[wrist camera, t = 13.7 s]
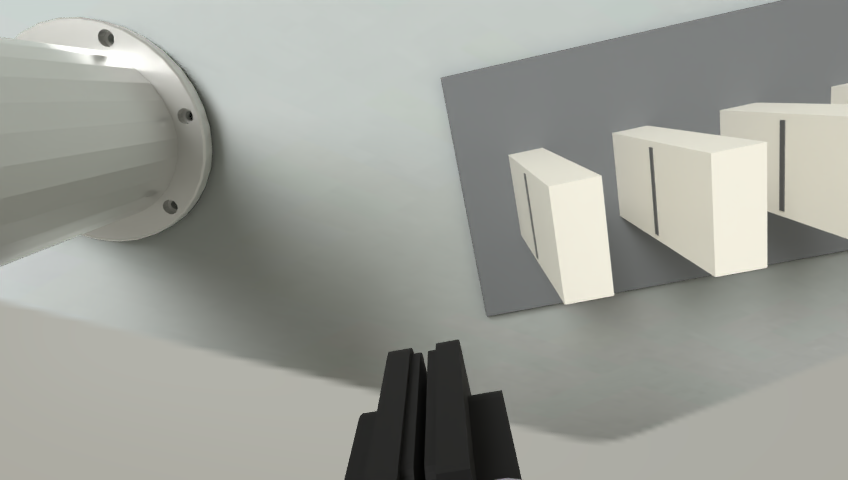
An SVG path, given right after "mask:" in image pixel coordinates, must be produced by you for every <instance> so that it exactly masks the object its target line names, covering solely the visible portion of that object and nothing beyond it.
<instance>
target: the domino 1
mask: <svg viewBox="0 0 848 480" xmlns="http://www.w3.org/2000/svg"><path fill="white" fill-rule="evenodd" d="M508 156H509V162H510V168H511V175H512V181H513V187H514V193H515V200H516V206H517V212H518V218H519V224H520V231H521V236H522V237H523V239H524V241H525V242H526V244H527V245H528V247H529V248H530V250H531V252H532V253H533V255H534V256H535V258H536V260H537V261H538V263H539V264H540V266H541V268H542V269H543V271H544V272H545V274H546V276H547V277H548V279H549V280H550V282H551V283H552V285H553V287H554V288H555V290H556V291H557V293H558V295H559V296H560V298H561V299H562V301H563V303H564V304H565V305H566V304H572V303H577V302H583V301H588V300H594V299H599V298H604V297H610V296H614V289H613V279H612V270H611V260H610V251H609V241H608V232H607V222H606V213H605V203H604V194H603V184H602V176H601V175H599V174H597V173H595V172H593V171H591V170H589V169H586V168H584V167H582V166H580V165H578V164H576V163H574V162H572V161H569V160H567V159H565V158H563V157H561V156H559V155H557V154H555V153H553V152H550V151H548V150H546V149H544V148H539V149H534V150H529V151H525V152H520V153H515V154H510V155H508Z"/></svg>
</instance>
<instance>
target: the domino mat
mask: <svg viewBox="0 0 848 480" xmlns="http://www.w3.org/2000/svg"><path fill="white" fill-rule="evenodd" d="M441 82H442V87H443V93H444V98H445V103H446V108H447V113H448V118H449V124H450V129H451V134H452V139H453V144H454V149H455V155H456V160H457V165H458V170H459V175H460V181H461V186H462V191H463V196H464V201H465V206H466V212H467V217H468V222H469V227H470V232H471V237H472V243H473V248H474V253H475V258H476V263H477V269H478V274H479V279H480V284H481V289H482V294H483V300H484V305H485V310H486V315H487V316H493V315H498V314H504V313H509V312H515V311H520V310H526V309H531V308H536V307H542V306H547V305H553V304H558V303H563V301H562V299H561V298H560V296H559V295H558V293H557V291H556V290H555V288H554V287H553V285H552V283H551V282H550V280H549V279H548V277H547V276H546V274H545V272H544V271H543V269H542V268H541V266H540V264H539V263H538V261H537V260H536V258H535V256H534V255H533V253H532V252H531V250H530V248H529V247H528V245H527V244H526V242H525V241H524V239H523V237H522V236H521V231H520V224H519V218H518V212H517V206H516V200H515V193H514V187H513V181H512V175H511V168H510V162H509V156H508V155H510V154H515V153H520V152H525V151H529V150H534V149H539V148H544V149H546V150H548V151H550V152H553V153H555V154H557V155H559V156H561V157H563V158H565V159H567V160H569V161H572V162H574V163H576V164H578V165H580V166H582V167H584V168H586V169H589V170H591V171H593V172H595V173H597V174H599V175H601V176H602V184H603V194H604V203H605V213H606V222H607V232H608V241H609V251H610V260H611V270H612V279H613V289H614V293H618V292H624V291H629V290H634V289H640V288H645V287H651V286H656V285H662V284H667V283H673V282H678V281H683V280H689V279H694V278H700V277H705V276H711V274H710V273H708V272H707V271H705V270H704V269H702V268H700V267H699V266H697V265H696V264H694V263H693V262H691V261H690V260H688V259H686V258H685V257H683V256H682V255H680V254H679V253H677V252H675V251H674V250H672V249H671V248H669V247H668V246H666V245H665V244H663V243H661V242H660V241H658V240H657V239H655V238H654V237H652V236H651V235H649V234H647V233H646V232H644V231H643V230H641V229H640V228H638V227H637V226H635V225H633V224H632V223H630V222H629V221H627V220H626V219H624V218H623V217H621V216H620V210H619V200H618V189H617V179H616V168H615V158H614V148H613V137H612V133H615V132H619V131H624V130H629V129H634V128H638V127H643V126H654V127H662V128H669V129H676V130H684V131H691V132H698V133H706V134H713V135H720V110H724V109H728V108H733V107H738V106H743V105H747V104H752V103H806V104H831V87H832V86H837V85H842V84H847V83H848V0H781V1H777V2H772V3H768V4H764V5H759V6H755V7H750V8H746V9H742V10H737V11H733V12H728V13H724V14H720V15H715V16H711V17H706V18H702V19H698V20H693V21H689V22H684V23H680V24H676V25H671V26H667V27H662V28H658V29H654V30H649V31H645V32H640V33H636V34H632V35H627V36H623V37H618V38H614V39H610V40H605V41H601V42H596V43H592V44H588V45H583V46H579V47H574V48H570V49H566V50H561V51H557V52H552V53H548V54H544V55H539V56H535V57H530V58H526V59H522V60H517V61H513V62H508V63H504V64H500V65H495V66H491V67H486V68H482V69H478V70H473V71H469V72H464V73H460V74H456V75H451V76H447V77H442V78H441ZM847 250H848V239H846V238H843V237H840V236H838V235H835V234H832V233H829V232H826V231H823V230H820V229H817V228H814V227H811V226H809V225H806V224H803V223H800V222H797V221H794V220H791V219H788V218H785V217H782V216H779V215H777V214H774V213H771V212H768V211H767V265H771V264H776V263H781V262H787V261H792V260H798V259H803V258H809V257H814V256H820V255H825V254H830V253H836V252H841V251H847Z"/></svg>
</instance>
